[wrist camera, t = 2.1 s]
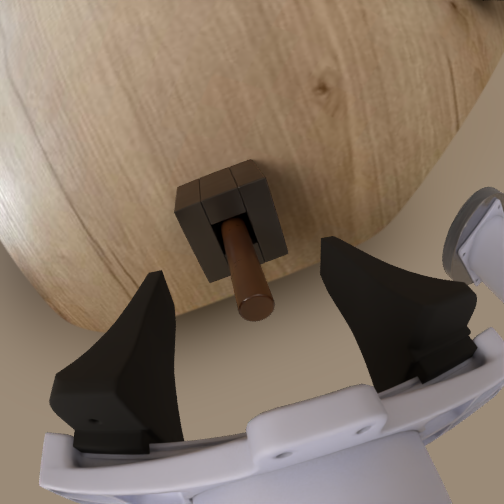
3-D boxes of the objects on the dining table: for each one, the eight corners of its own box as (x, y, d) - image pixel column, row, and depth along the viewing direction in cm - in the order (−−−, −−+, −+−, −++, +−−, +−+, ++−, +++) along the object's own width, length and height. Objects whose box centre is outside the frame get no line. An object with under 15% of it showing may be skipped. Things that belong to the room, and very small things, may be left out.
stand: (251, 158, 18) (265, 177, 15) (272, 224, 21) (289, 254, 17) (177, 187, 18) (173, 212, 15) (205, 249, 21) (209, 283, 17)
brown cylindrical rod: (241, 203, 19) (282, 303, 11) (229, 219, 20) (259, 326, 12) (224, 192, 19) (254, 289, 10) (212, 208, 19) (231, 314, 11)
